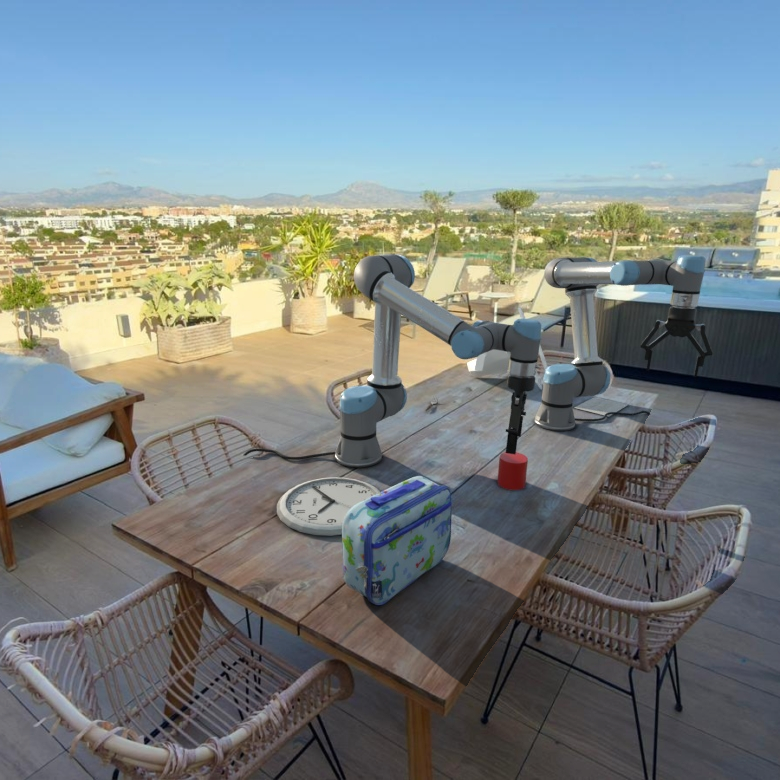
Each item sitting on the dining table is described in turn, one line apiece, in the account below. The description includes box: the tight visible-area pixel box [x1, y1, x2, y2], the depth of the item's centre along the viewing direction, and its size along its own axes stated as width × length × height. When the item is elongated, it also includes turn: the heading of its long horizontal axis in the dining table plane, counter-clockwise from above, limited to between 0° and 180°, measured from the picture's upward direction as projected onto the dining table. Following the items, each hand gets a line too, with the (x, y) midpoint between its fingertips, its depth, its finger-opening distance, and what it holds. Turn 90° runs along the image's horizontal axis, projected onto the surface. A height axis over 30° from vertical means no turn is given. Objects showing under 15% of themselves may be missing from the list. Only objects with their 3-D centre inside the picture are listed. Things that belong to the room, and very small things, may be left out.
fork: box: [425, 396, 439, 412], centre depth 222 cm, size 3×16×2 cm, turn 160°
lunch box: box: [341, 475, 453, 606], centre depth 111 cm, size 26×11×21 cm, turn 134°
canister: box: [496, 451, 529, 491], centre depth 155 cm, size 8×8×9 cm
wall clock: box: [276, 476, 382, 537], centre depth 142 cm, size 30×2×30 cm
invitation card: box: [573, 396, 629, 418], centre depth 226 cm, size 21×1×15 cm
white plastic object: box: [466, 306, 549, 390], centre depth 259 cm, size 37×45×31 cm
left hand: (513, 444), depth 153 cm, fingers open, 13 cm apart
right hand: (671, 373), depth 168 cm, fingers open, 13 cm apart
